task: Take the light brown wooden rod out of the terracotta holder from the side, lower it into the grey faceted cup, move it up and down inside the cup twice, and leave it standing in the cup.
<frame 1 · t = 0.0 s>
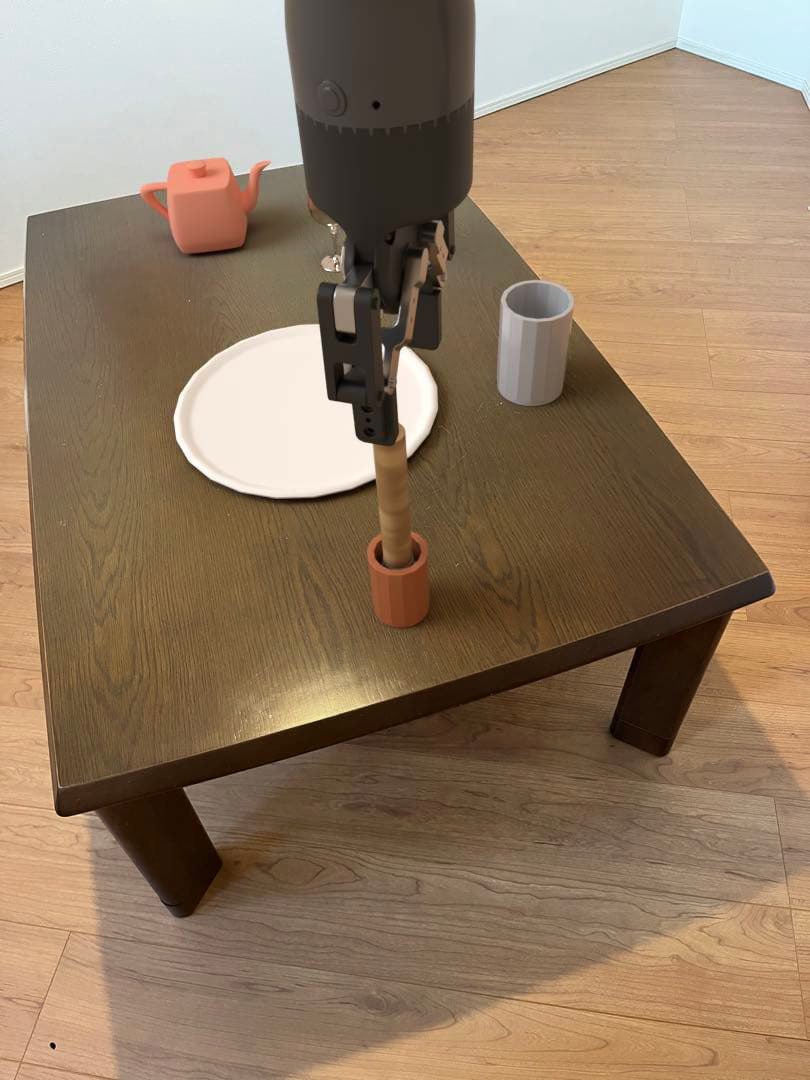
hand: (401, 389, 47), 30 cm above the table, tool pointing down, fingers open, 8 cm apart
wineglass: (337, 264, 112), on the table
teapot: (219, 236, 118), on the table
light brown wooden rod: (401, 601, 74), resting on holder
holder: (401, 604, 74), on the table
plate: (307, 410, 92), on the table
grey faceted cup: (529, 384, 93), on the table
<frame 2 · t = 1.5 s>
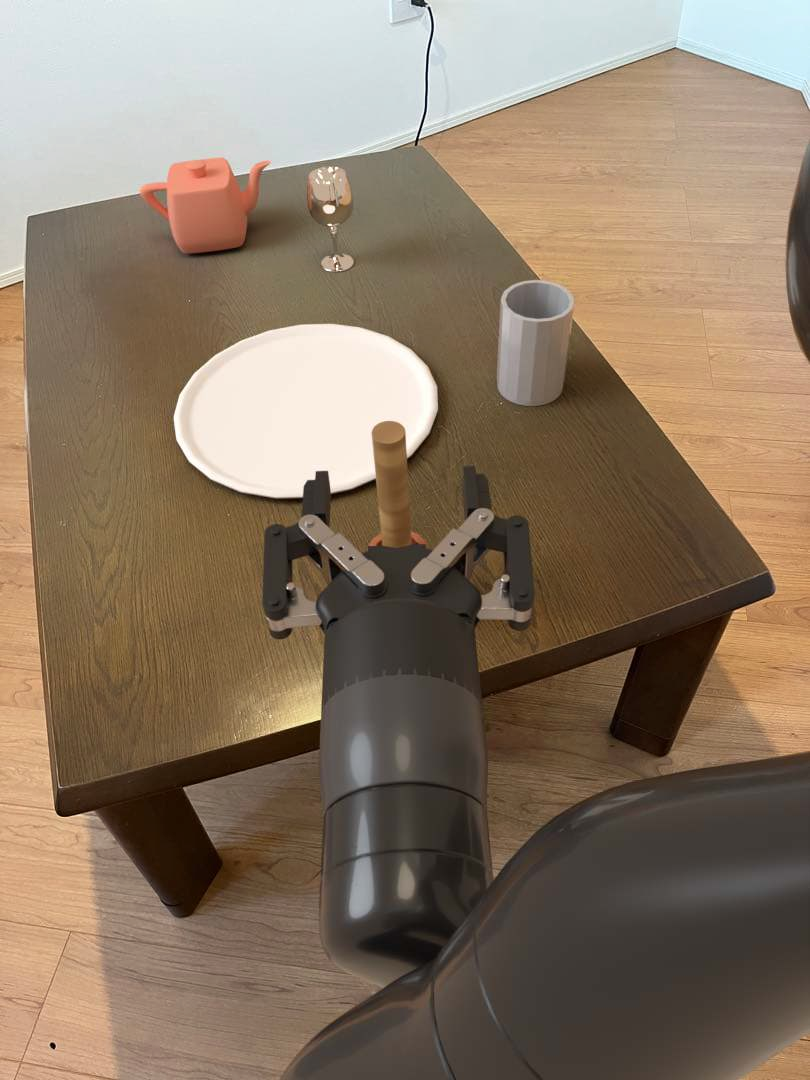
hand: (395, 478, 49), 25 cm above the table, tool horizontal, fingers open, 8 cm apart
nothing on the table moved.
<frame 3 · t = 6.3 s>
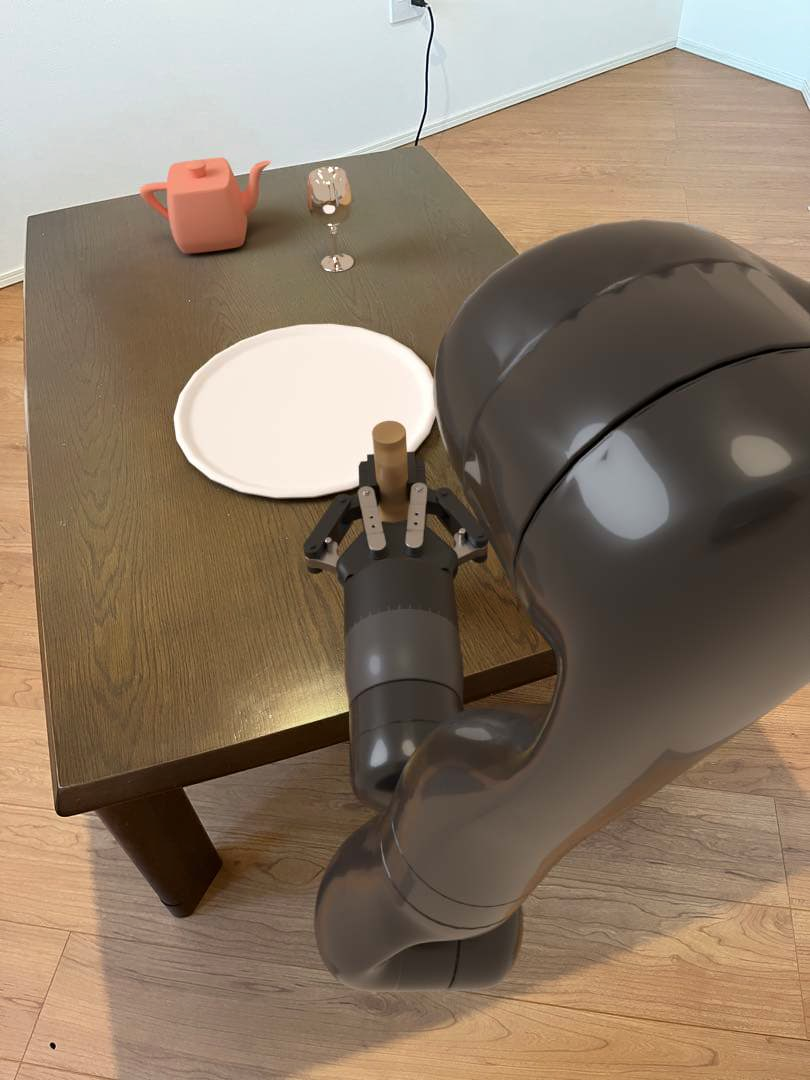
hand: (390, 461, 65), 15 cm above the table, tool horizontal, fingers closed on light brown wooden rod, 2 cm apart
light brown wooden rod: (401, 601, 74), point 1 cm above the table, touching gripper, holder
everything else where it was.
when the fingers open (15 cm above the table, at t = 23.1 s): light brown wooden rod stays where it is, resting on grey faceted cup.
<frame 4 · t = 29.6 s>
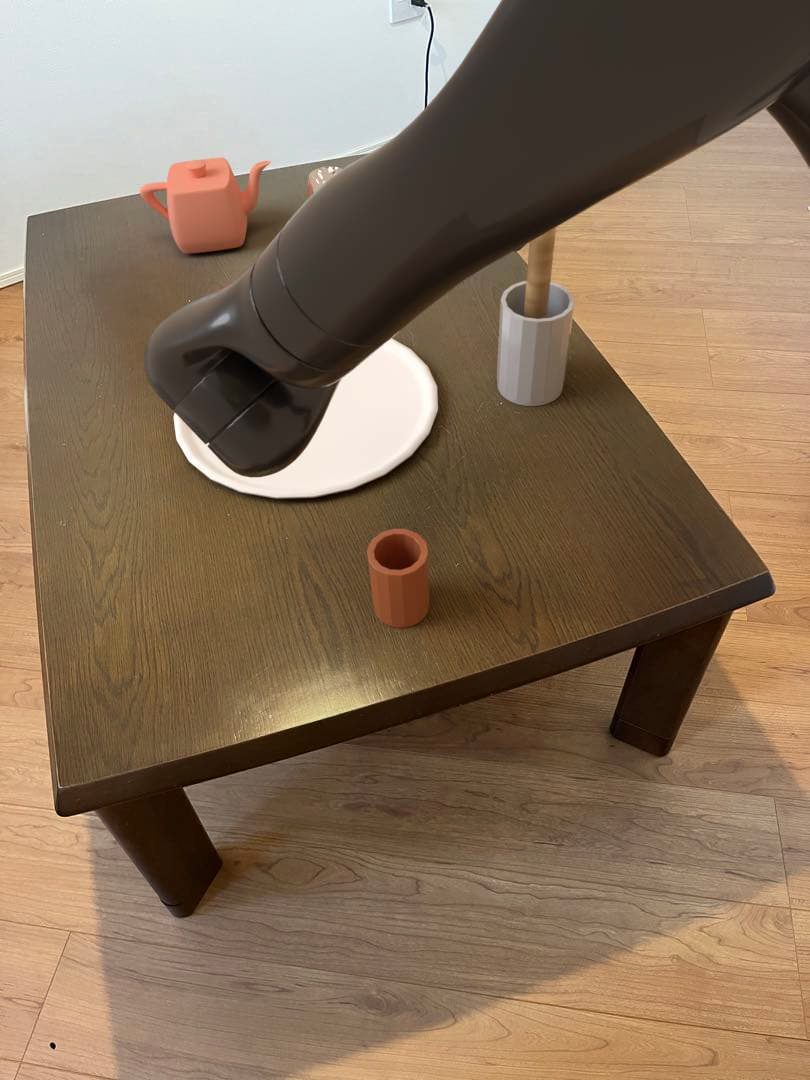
hand: (500, 154, 65), 30 cm above the table, tool horizontal, fingers open, 8 cm apart
light brown wooden rod: (529, 380, 93), point 1 cm above the table, touching grey faceted cup
everything else where it was.
at the end: light brown wooden rod 0.1 cm off-centre in the grey faceted cup, point 0.6 cm above the grey faceted cup's base; light brown wooden rod moved 33.3 cm from its start; the gripper is holding nothing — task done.
